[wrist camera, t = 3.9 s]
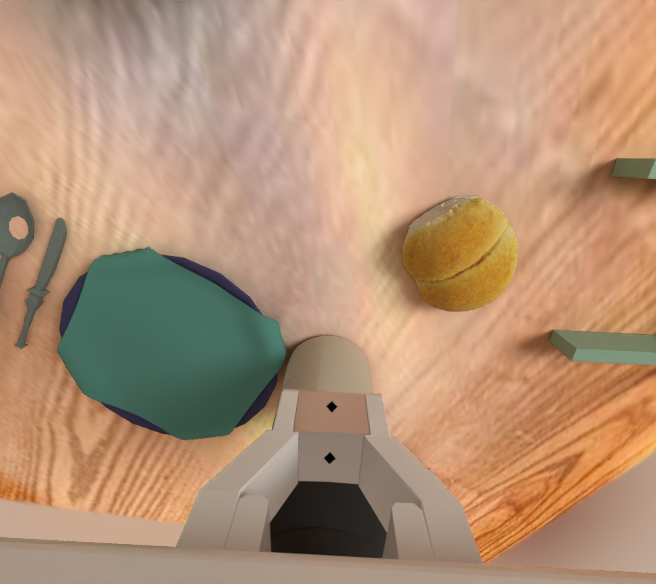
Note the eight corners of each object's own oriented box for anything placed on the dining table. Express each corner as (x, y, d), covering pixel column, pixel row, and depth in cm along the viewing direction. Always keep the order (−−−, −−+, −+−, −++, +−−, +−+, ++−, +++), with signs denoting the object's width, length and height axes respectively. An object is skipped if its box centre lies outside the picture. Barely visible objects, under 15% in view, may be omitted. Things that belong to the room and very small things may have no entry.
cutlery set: (225, 449, 36) (218, 467, 34) (-56, 315, 30) (-86, 327, 28) (321, 324, 29) (320, 337, 27) (-16, 119, 23) (-51, 115, 21)
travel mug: (385, 354, 30) (444, 601, 13) (345, 411, 33) (353, 672, 16) (309, 320, 29) (271, 544, 12) (274, 382, 31) (205, 632, 15)
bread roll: (433, 317, 28) (447, 341, 25) (385, 234, 26) (393, 247, 22) (524, 271, 26) (554, 289, 23) (483, 175, 24) (510, 178, 20)
